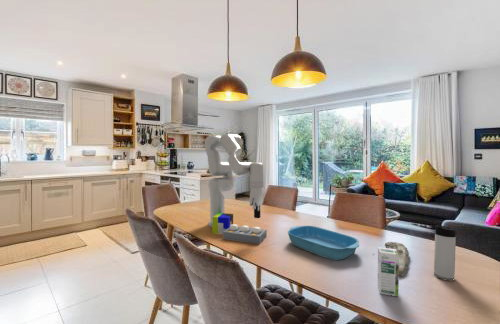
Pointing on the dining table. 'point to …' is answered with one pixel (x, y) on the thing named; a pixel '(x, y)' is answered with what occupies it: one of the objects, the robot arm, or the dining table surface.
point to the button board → (245, 235)
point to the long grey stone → (400, 255)
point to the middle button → (245, 228)
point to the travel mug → (444, 252)
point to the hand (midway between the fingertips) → (257, 217)
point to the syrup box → (388, 271)
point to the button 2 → (256, 230)
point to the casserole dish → (323, 241)
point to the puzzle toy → (221, 222)
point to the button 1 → (233, 227)
